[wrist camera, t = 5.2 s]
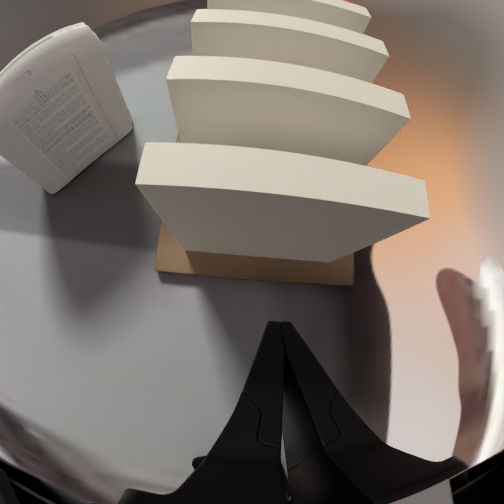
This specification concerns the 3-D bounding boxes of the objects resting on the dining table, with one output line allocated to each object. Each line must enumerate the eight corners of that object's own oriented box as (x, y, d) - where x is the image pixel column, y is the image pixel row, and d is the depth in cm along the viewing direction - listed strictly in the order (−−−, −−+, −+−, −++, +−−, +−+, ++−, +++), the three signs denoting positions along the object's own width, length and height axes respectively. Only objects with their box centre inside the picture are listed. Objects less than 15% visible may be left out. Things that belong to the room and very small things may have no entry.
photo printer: (122, 104, 21) (80, 3, 9) (142, 128, 21) (98, 15, 9) (39, 173, 19) (-40, 104, 7) (52, 204, 19) (-42, 136, 7)
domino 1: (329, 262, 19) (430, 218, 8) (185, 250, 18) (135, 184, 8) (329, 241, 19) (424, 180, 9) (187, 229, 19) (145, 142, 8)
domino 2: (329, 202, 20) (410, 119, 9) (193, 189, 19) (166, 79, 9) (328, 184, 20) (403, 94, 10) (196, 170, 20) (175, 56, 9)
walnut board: (349, 285, 20) (353, 285, 19) (157, 271, 19) (154, 270, 18) (332, 62, 24) (334, 57, 23) (205, 45, 23) (205, 40, 22)
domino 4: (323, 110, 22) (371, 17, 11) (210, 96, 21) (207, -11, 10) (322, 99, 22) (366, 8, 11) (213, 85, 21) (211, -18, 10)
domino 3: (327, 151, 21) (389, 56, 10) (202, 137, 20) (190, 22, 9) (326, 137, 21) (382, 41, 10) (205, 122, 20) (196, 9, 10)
